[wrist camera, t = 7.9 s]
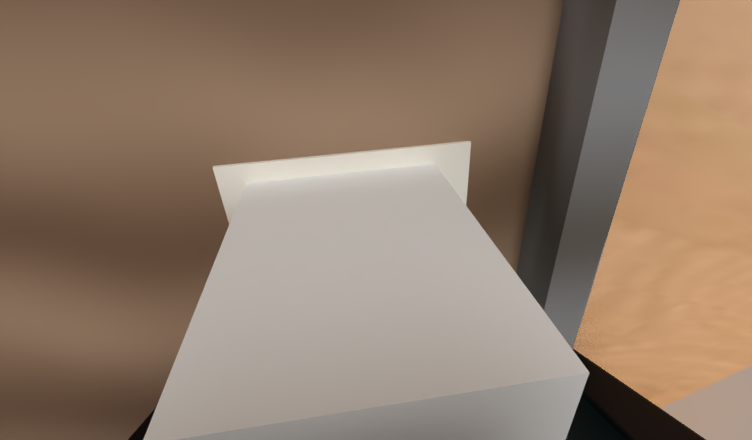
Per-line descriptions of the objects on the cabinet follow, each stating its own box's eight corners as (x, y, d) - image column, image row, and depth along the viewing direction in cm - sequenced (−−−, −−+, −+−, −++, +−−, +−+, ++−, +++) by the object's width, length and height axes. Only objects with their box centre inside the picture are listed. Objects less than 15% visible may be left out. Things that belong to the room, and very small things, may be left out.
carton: (295, 378, 12) (279, 651, 7) (245, 183, 9) (141, 444, 4) (438, 356, 13) (522, 599, 7) (447, 162, 9) (616, 368, 4)
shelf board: (-491, -213, 6) (-1205, -403, 3) (625, -223, 7) (803, -352, 5) (41, 416, 14) (-25, 516, 11) (515, 345, 15) (556, 417, 13)
